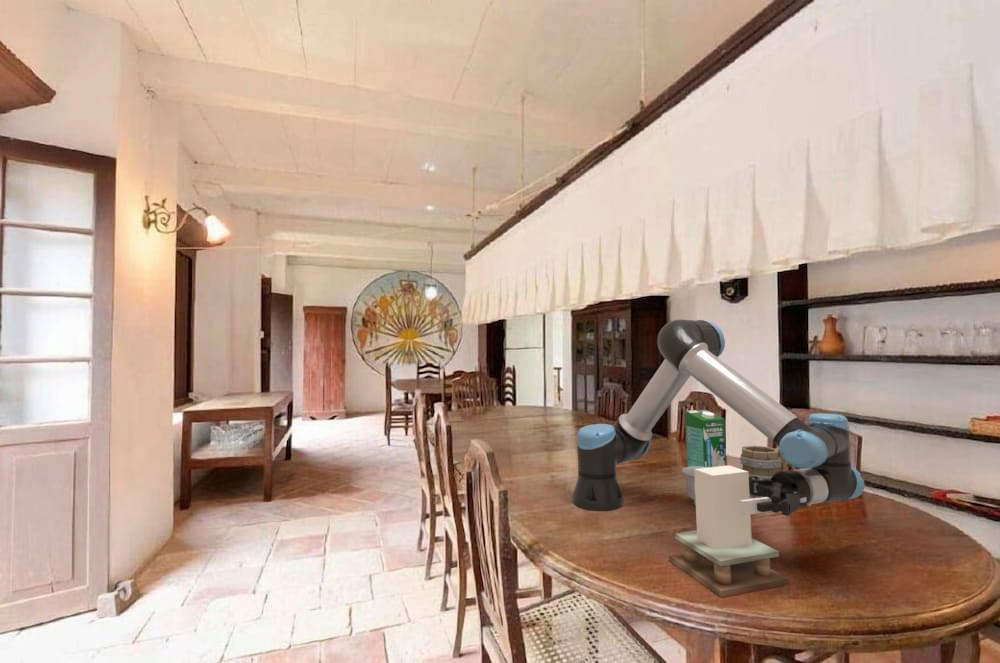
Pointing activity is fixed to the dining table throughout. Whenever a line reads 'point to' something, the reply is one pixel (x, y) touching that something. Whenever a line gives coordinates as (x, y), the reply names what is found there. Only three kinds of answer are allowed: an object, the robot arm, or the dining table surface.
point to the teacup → (690, 480)
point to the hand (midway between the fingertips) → (716, 497)
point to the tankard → (762, 462)
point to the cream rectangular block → (722, 507)
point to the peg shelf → (737, 576)
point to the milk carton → (705, 439)
